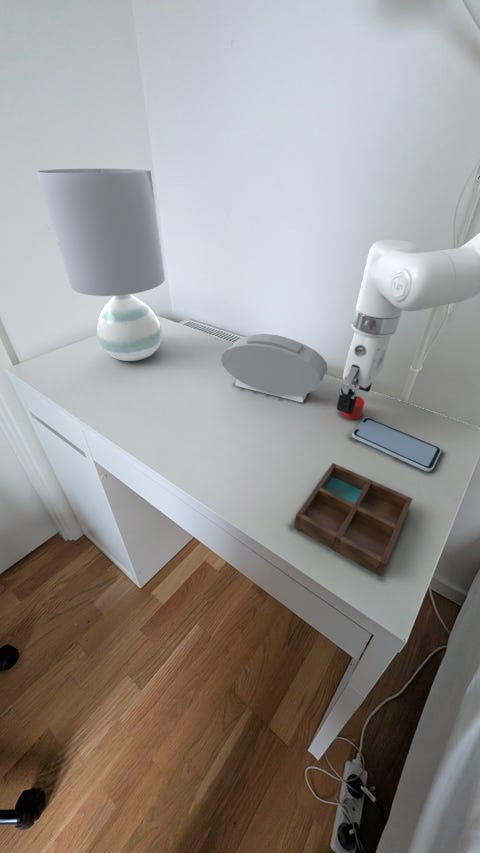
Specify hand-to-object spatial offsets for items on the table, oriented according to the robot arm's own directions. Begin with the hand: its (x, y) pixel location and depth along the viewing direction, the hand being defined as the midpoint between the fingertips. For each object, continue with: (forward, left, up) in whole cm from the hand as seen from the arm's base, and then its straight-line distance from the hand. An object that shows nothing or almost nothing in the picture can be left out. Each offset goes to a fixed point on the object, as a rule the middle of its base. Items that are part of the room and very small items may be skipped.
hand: (353, 400), depth 70 cm
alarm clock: (+19, +2, -4) cm, 19 cm away
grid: (-10, +26, -3) cm, 28 cm away
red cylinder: (0, 0, -3) cm, 3 cm away
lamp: (+59, +9, -4) cm, 59 cm away
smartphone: (-11, +5, -4) cm, 12 cm away
